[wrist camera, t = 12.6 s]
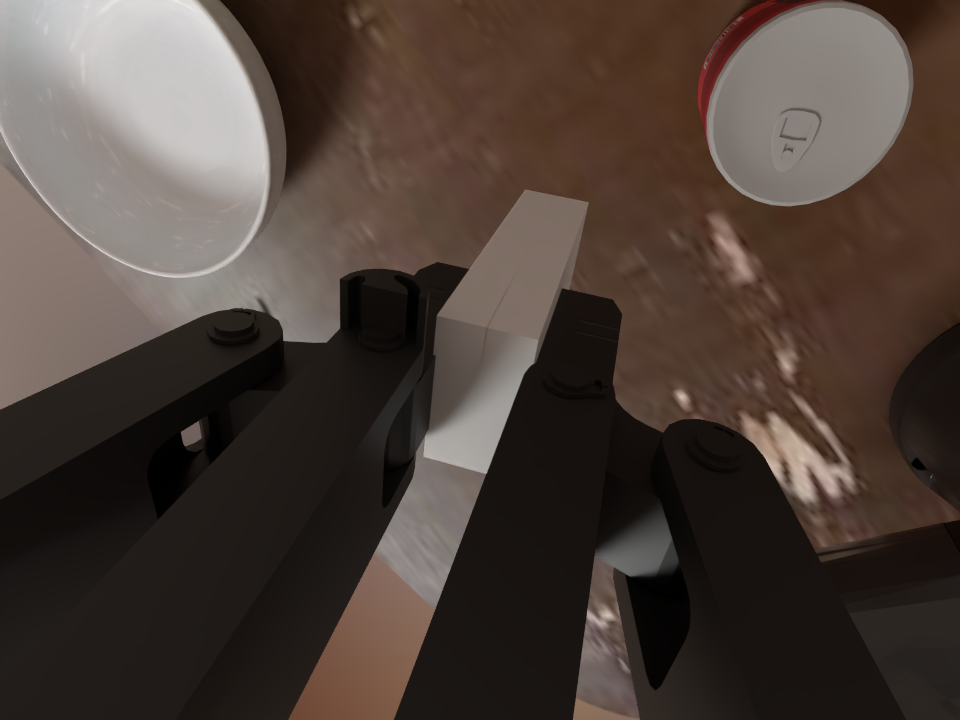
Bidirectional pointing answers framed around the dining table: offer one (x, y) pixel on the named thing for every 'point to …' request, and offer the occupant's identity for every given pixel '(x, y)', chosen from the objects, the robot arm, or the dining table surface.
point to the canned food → (803, 98)
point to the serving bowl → (144, 126)
